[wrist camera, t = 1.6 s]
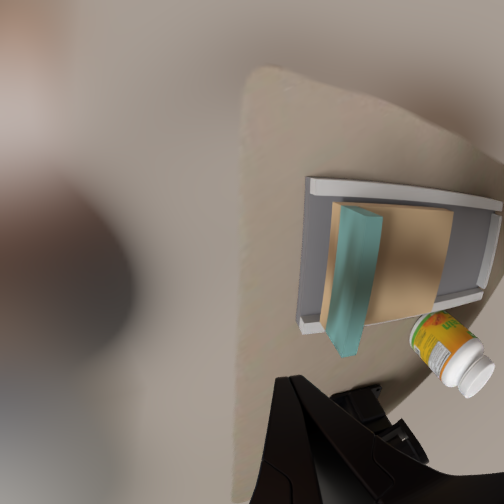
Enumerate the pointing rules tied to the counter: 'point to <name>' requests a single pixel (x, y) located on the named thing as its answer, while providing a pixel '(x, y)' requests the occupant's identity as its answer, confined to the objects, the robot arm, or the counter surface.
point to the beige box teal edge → (381, 266)
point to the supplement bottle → (451, 352)
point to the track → (363, 191)
